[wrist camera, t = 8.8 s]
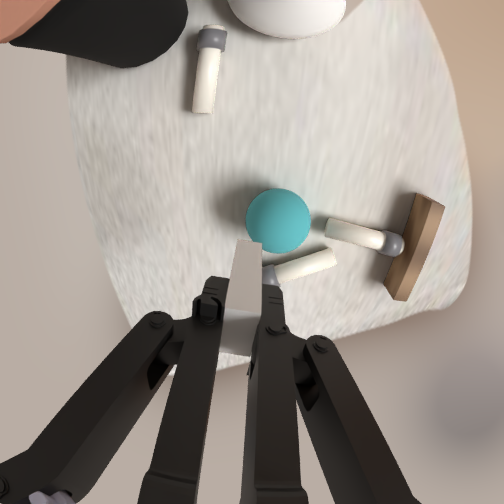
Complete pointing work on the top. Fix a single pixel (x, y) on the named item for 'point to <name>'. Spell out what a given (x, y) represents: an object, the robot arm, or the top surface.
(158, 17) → the coffee jar
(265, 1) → the flower in vase
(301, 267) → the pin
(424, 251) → the back wall
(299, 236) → the ball
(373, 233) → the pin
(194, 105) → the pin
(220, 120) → the top surface
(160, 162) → the top surface
